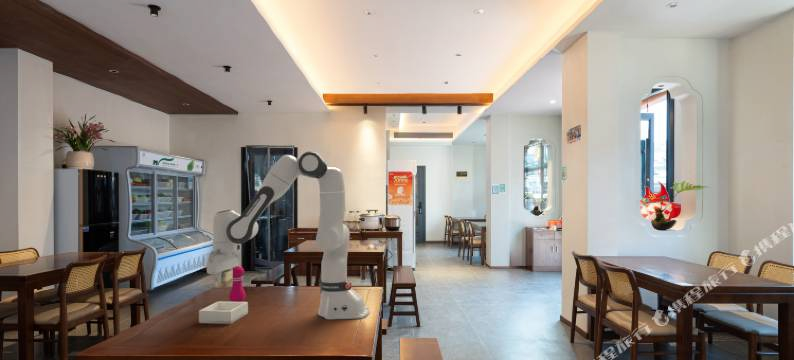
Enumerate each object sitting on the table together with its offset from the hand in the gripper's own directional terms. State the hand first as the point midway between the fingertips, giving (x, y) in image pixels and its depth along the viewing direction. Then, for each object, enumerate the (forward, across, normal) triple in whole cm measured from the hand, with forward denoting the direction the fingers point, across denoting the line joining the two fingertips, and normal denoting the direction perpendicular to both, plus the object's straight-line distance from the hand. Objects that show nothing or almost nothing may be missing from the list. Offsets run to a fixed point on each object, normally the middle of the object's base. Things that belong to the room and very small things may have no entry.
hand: (224, 280), depth 173 cm
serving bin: (+16, 0, 0) cm, 16 cm away
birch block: (+2, 0, 0) cm, 2 cm away
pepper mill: (+16, +18, +4) cm, 24 cm away
